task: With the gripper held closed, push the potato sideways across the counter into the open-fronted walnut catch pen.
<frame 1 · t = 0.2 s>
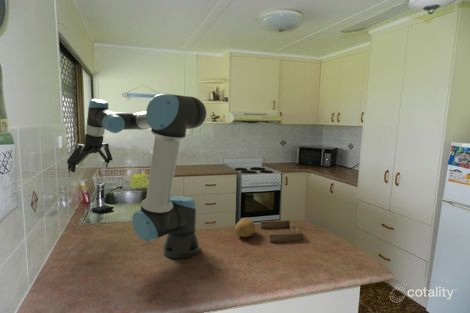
hand: (88, 175, 134), 28 cm above the worktop, tool tilted 20°, fingers open, 13 cm apart
catch pen: (280, 233, 141), on the worktop
potato: (244, 235, 138), on the worktop
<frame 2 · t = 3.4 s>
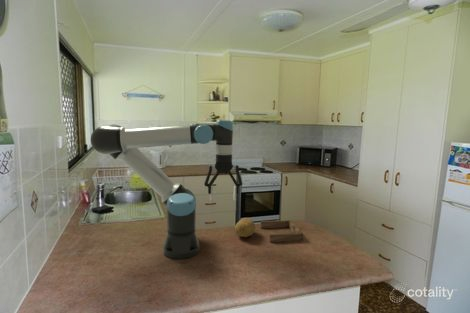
hand: (223, 200, 134), 18 cm above the worktop, tool pointing down, fingers open, 10 cm apart
nothing on the worktop moved.
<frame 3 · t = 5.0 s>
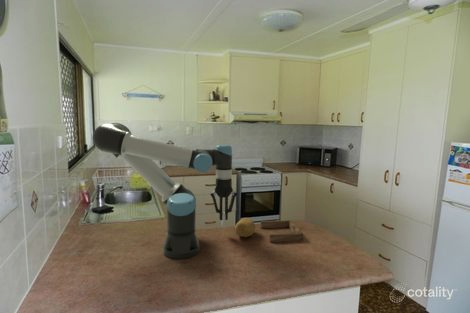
hand: (223, 226, 135), 5 cm above the worktop, tool pointing down, fingers closed
nothing on the worktop moved.
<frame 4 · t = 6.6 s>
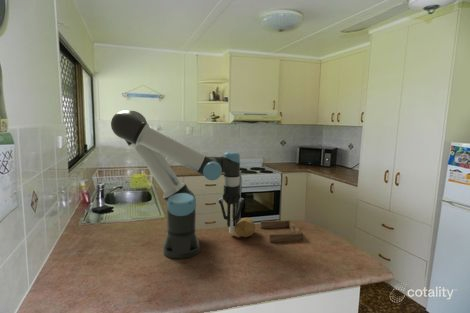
hand: (231, 232, 136), 2 cm above the worktop, tool pointing down, fingers closed
potato: (244, 235, 138), on the worktop, touching gripper
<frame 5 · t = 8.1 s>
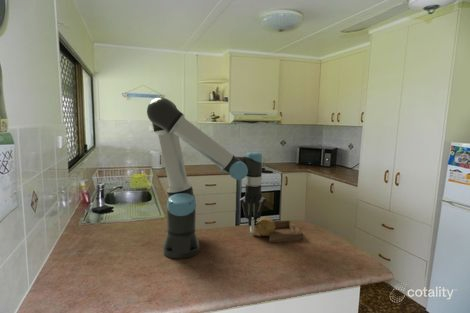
hand: (251, 231, 138), 2 cm above the worktop, tool pointing down, fingers closed
potato: (265, 234, 140), on the worktop, touching gripper
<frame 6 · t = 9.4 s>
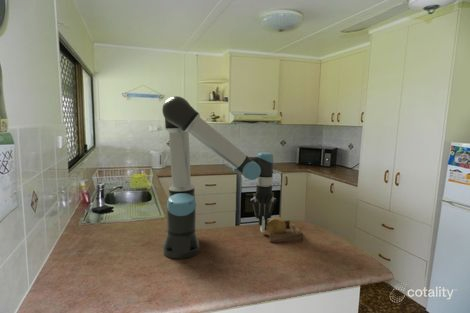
hand: (262, 231, 139), 1 cm above the worktop, tool pointing down, fingers closed
potato: (275, 234, 140), on the worktop, touching gripper
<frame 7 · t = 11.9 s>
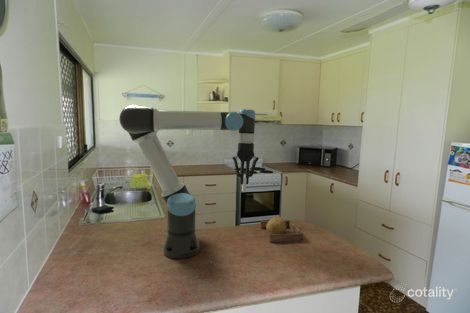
hand: (243, 190, 137), 22 cm above the worktop, tool pointing down, fingers closed
potato: (275, 234, 140), on the worktop
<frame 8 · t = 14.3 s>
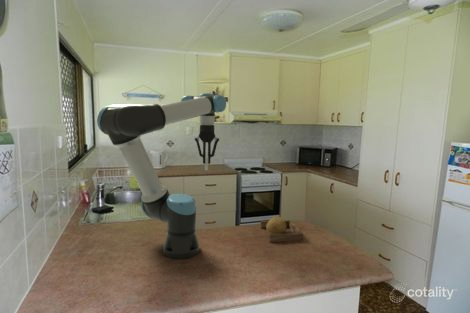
hand: (206, 169, 148), 29 cm above the worktop, tool pointing down, fingers closed
nothing on the worktop moved.
at the end: potato inside the target area (1.8 cm from its centre), on the worktop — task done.
